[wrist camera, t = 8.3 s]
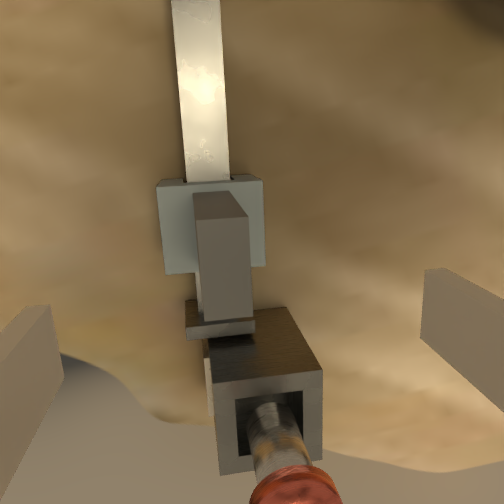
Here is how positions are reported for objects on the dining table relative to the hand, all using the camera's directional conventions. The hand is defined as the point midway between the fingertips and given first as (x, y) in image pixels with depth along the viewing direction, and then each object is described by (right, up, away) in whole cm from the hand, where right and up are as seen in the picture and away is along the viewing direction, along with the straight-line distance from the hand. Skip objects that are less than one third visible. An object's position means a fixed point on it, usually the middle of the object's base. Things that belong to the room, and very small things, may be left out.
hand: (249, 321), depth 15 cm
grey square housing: (0, -6, +22) cm, 23 cm away
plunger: (+1, -9, +12) cm, 15 cm away
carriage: (-3, +5, +18) cm, 19 cm away
